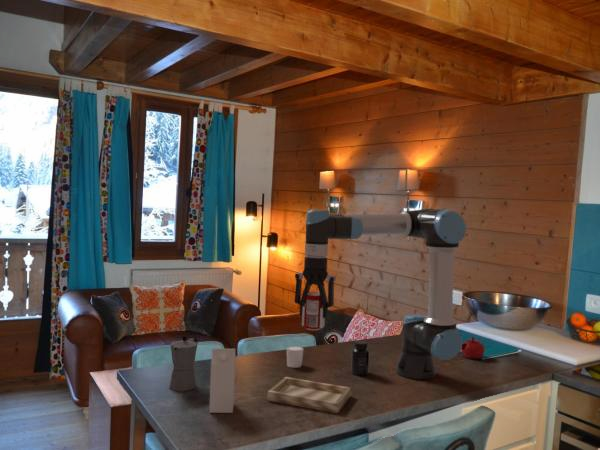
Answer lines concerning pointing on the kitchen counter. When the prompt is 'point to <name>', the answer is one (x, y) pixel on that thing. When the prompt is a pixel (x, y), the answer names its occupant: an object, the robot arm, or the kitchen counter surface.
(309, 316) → the soda can
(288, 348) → the white cylinder
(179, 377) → the coffeepot
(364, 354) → the supplement bottle
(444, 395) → the kitchen counter surface
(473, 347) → the pomegranate
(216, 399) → the milk carton
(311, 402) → the tray
